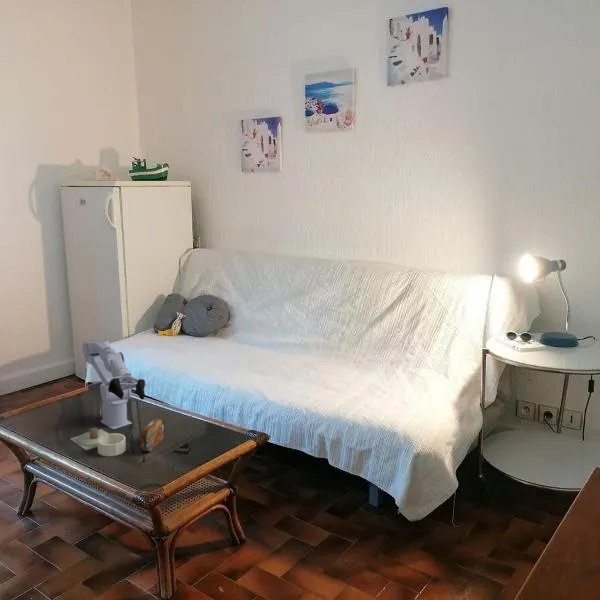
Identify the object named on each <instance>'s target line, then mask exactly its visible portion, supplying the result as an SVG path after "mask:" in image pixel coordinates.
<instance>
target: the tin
mask: <svg viewBox="0 0 600 600" xmlns="http://www.w3.org/2000/svg"><path fill="white" fill-rule="evenodd" d="M164 420H165V419H163V418H153V419H152V420H151V421H150V422H148V424H146V425H145V427H143V429H142V430H141V433H140V436H139V437H140V438H139V440H140V448H141V450H142V451H144V452H152V451H153V450H154V448H155V447H156V446H157V445H158V444H159V443H161V441H162V440H164V436H165V433H166V424H165V421H164Z"/></svg>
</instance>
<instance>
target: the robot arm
mask: <svg viewBox="0 0 600 600" xmlns="http://www.w3.org/2000/svg"><path fill="white" fill-rule="evenodd" d="M82 353H83V357H84V359H85V360H86V362H87V364H90V365H92V366H93V368H94V370H95V372H96V374H97V375H98V377H99V378H100V380H101V382H102V383H101V384H100V388H99V389H100V390H99V391H100V396H101V399H102V401H103V403H102V406H101V410H102V419H101V420H100V422H101V424H104V425H105V426H107V427H108V428H110V429H112V430H115V429H119V428H121V427H125V426H129V425H131V424H133V423H132V422H131V421H130V420H128V406H127V404H128V402H129V399H130V398H131V396H132V389H134V388H135V390H134V394H136V395H137V396H138V397H139V400H142V401H143V400H144V399H145V397H146V394H145V393H146V392H145V388H146V385H147V382H146V380H145V379H142V378H137V377H135V376H133V375H132V372H130V371H129V369H128V368H127V365H126V364H125V357H124V354H123V352H122V351H119V352H117V351H116V350H115V349H113V348H112V347H111V343H110V341H109V340H108V339H102V340H100V339H99V340H93V341H92V340H91V341H83V344H82Z"/></svg>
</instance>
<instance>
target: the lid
mask: <svg viewBox="0 0 600 600" xmlns="http://www.w3.org/2000/svg"><path fill="white" fill-rule="evenodd" d="M88 430H89V431H88V432H84V433H82V434H80V435H78V436H79V437H78V439H77V442H78V443H79V444H80V445H83V446H97V445H98V438H100V437H101V436H103V435H106V434H110V433H109V432H108V431H105V430H104V431H105V432H104V431H98V430H99V429H98V427H91V428H89V429H88Z"/></svg>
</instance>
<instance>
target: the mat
mask: <svg viewBox="0 0 600 600" xmlns="http://www.w3.org/2000/svg"><path fill="white" fill-rule="evenodd" d="M98 431H104V432H106V430H103V429H102V428H100V429H98ZM79 436H80V435H77V436H73V437H71V438H69V440H71V441H72V442H73V443H75V444H77V446H80V447H81V448H82V449H84V450H85V451H88V450H92V449H95V448H98V445H97V446H83V445H80V444H79V443H78V442H77V439H78V437H79Z"/></svg>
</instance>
